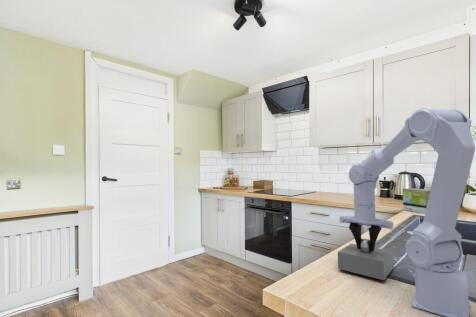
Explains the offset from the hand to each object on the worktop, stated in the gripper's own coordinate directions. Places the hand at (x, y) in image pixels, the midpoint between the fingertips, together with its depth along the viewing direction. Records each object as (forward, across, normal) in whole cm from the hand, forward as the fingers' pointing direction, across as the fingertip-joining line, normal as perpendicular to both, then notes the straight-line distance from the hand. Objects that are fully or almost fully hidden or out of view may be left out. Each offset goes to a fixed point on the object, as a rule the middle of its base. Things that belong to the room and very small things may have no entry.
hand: (365, 249), depth 76 cm
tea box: (+6, -2, -119) cm, 119 cm away
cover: (+6, 0, 0) cm, 6 cm away
